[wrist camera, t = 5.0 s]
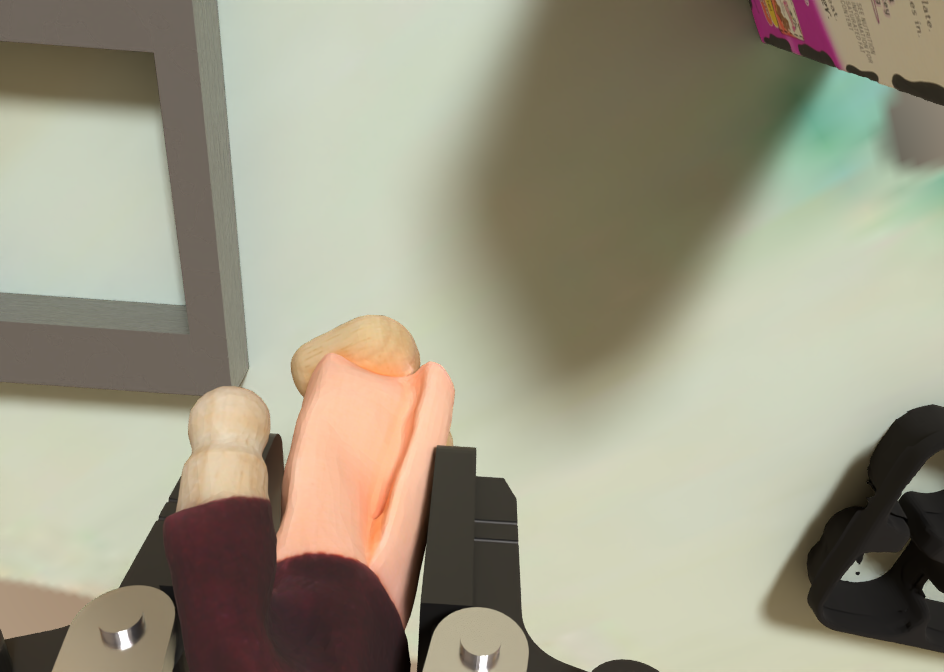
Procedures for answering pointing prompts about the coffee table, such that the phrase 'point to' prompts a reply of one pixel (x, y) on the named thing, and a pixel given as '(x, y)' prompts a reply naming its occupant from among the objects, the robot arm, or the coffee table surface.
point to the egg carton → (888, 545)
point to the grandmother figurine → (312, 511)
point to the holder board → (195, 207)
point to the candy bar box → (863, 38)
